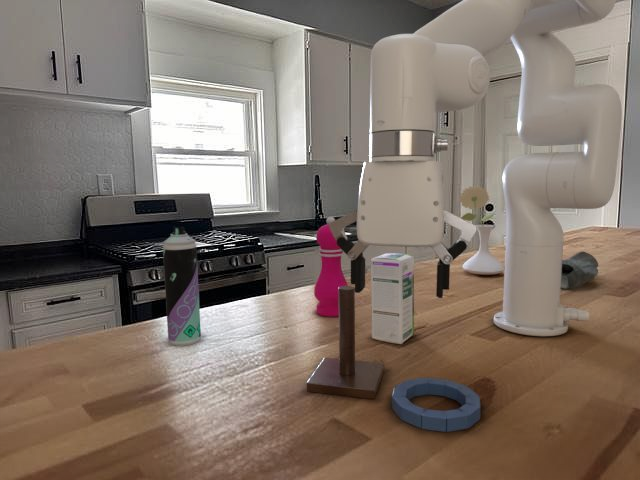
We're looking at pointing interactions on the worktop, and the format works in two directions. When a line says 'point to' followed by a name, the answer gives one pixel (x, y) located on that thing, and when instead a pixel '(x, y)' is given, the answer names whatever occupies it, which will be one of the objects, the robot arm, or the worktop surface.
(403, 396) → the ring
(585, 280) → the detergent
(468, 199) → the flower in vase
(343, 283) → the pepper mill
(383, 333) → the syrup box
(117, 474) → the worktop surface
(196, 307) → the spray can
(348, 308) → the stand
